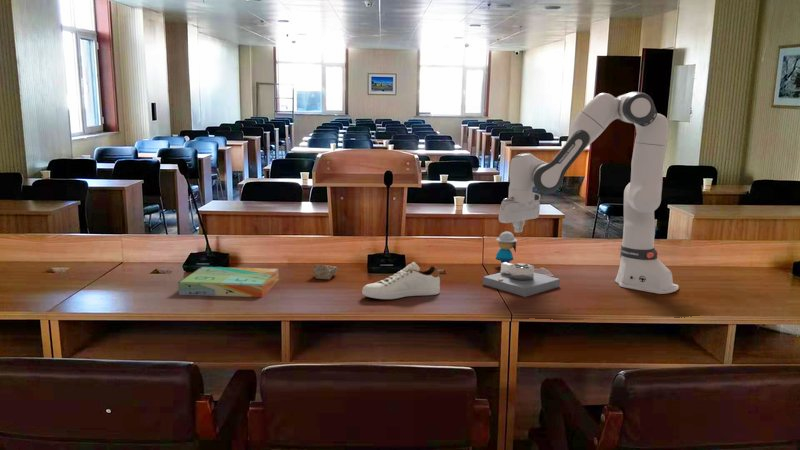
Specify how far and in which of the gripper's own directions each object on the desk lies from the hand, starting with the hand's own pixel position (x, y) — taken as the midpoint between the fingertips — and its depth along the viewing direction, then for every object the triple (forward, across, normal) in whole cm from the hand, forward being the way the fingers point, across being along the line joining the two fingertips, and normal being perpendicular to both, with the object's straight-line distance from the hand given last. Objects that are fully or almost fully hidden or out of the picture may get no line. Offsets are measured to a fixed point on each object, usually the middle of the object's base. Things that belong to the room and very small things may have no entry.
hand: (518, 232), depth 241 cm
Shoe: (+20, -48, +12) cm, 54 cm away
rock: (+20, -56, +48) cm, 77 cm away
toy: (+19, +11, +15) cm, 26 cm away
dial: (+15, -6, -5) cm, 17 cm away
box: (+20, -91, +59) cm, 110 cm away
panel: (+19, -6, -7) cm, 21 cm away
